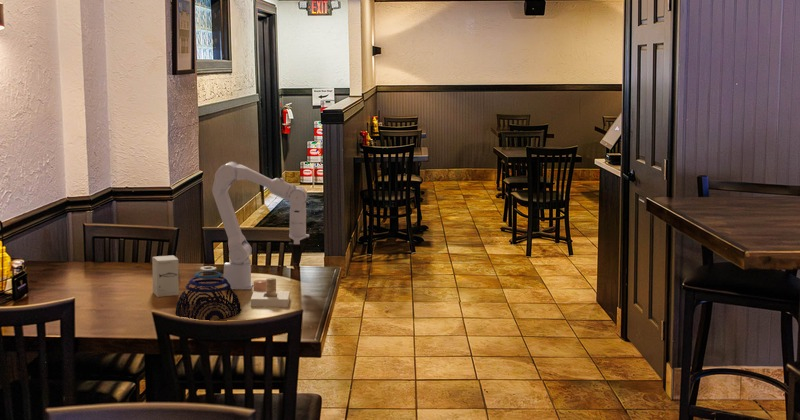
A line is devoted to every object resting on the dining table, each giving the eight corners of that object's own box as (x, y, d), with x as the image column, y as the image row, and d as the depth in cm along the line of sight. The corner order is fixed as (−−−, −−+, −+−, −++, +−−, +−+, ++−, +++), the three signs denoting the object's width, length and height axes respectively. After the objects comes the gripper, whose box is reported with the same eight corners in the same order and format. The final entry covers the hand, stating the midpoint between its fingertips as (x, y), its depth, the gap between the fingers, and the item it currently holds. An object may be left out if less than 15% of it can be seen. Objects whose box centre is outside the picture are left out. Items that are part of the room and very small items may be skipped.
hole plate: (250, 306, 281) (250, 299, 281) (253, 298, 291) (253, 291, 291) (287, 306, 282) (287, 299, 282) (289, 298, 292) (289, 291, 292)
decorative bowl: (181, 323, 262) (180, 277, 259) (171, 306, 280) (170, 263, 277) (246, 318, 269) (246, 273, 267) (232, 301, 288) (232, 259, 285)
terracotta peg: (252, 297, 292) (252, 283, 292) (254, 293, 297) (254, 279, 296) (267, 297, 293) (267, 283, 292) (268, 293, 297) (268, 279, 297)
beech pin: (266, 303, 285) (266, 280, 284) (266, 301, 288) (266, 278, 287) (276, 303, 285) (276, 280, 284) (276, 301, 289) (276, 277, 287)
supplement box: (157, 297, 289) (156, 260, 286) (152, 292, 295) (151, 256, 293) (179, 295, 292) (178, 259, 290) (174, 290, 298) (173, 254, 296)
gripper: (308, 226, 294) (308, 265, 296) (310, 218, 308) (309, 255, 310) (287, 225, 293) (287, 264, 295) (290, 218, 307) (289, 255, 310)
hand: (297, 260), depth 303 cm, fingers open, 7 cm apart
